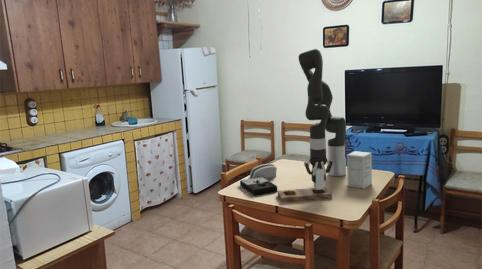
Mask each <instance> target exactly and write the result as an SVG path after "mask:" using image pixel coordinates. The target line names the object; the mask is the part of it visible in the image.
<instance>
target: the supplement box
mask: <svg viewBox="0 0 482 269" xmlns="http://www.w3.org/2000/svg"><path fill="white" fill-rule="evenodd" d="M372 157H373V156H372V152H367V151H357V150H354V151H352V152H350V153H347V154H346V176H347V182H346V183H347V186H348V187H353V188H357V189H359V188H360V189H366V188H368V187H369V186H371V185H372V184H373V182H372V181H373V180H372V179H373V171H372V168H373V167H372V164H373V163H372V159H373V158H372Z"/></svg>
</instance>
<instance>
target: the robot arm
mask: <svg viewBox="0 0 482 269" xmlns="http://www.w3.org/2000/svg"><path fill="white" fill-rule="evenodd" d="M298 62H299V65H300V67H301V70H302V72H303V74H304V76H305V77H306V78H305V79H306V80H307V82H308V83H307V105H306V108H305V118H306V119H307V120H308V121H319V122H318V123H317V124H313V125H311V126H309V160H308V161H304V162H303V165H304V167H305V170H306V172H307V174H308V175H311V181H312V183H313V184H314V183H315V170H316V169H317V168H322V169H324V183H325V182H327V181H326V180H327V174H328V176H331V177H343V176H347V157H345V156H346V151H345V150H346V145H345V144H346V143H345V142H346V137H347V136H346V134H347V123H346V119H345V118H344V117H342V116H333V115H332V113H331V105H332V103H333V94H332V90H331V89H330V86H329V84H328V83H326V81H324V80H323V66H324V61H323V56H322V53H321V50H320V49H319V48H313V49H310V50H307V51H304V52H302V53H299V55H298ZM312 70H314V71H312ZM326 132H327V133H330V134H335V135H334V136H335V137H334V138H333V137H332V138H330V139H328V140H326ZM326 164H327V166H326ZM310 166H311V169H310ZM325 166H326V167H325Z"/></svg>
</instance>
